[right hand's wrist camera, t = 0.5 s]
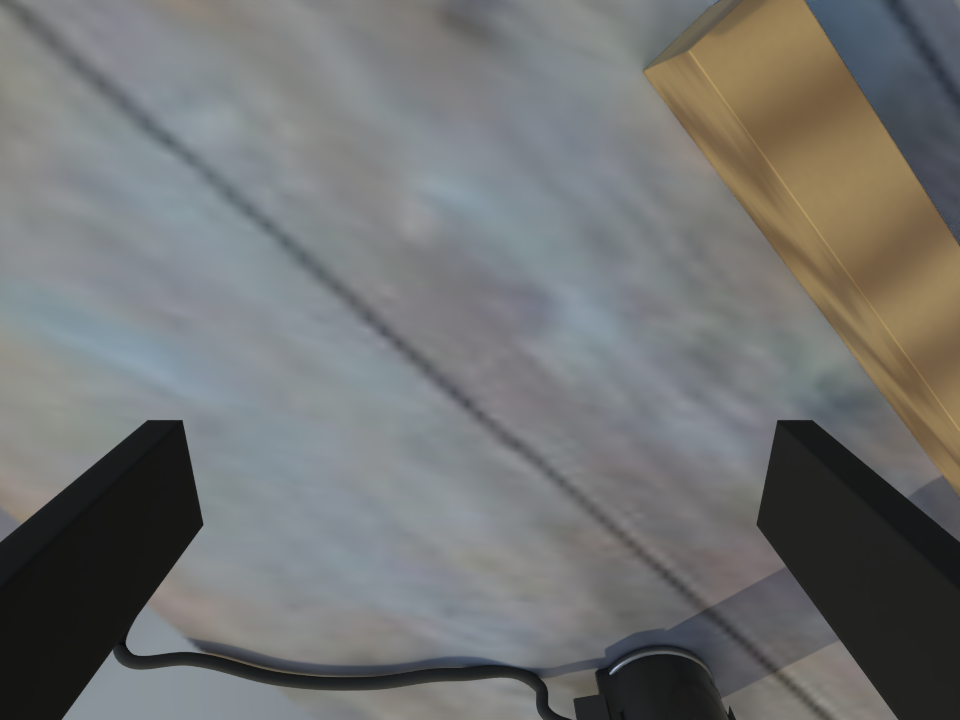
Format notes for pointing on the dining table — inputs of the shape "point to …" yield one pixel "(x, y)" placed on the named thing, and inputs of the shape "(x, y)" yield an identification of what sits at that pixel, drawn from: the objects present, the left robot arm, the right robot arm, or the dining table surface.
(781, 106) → the post
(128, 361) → the dining table surface
